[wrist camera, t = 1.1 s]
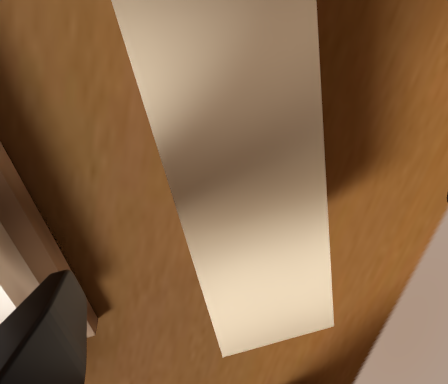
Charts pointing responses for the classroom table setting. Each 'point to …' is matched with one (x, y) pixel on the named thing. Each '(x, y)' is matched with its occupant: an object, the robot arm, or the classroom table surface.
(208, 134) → the white block
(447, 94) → the classroom table surface
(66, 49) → the classroom table surface
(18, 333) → the robot arm
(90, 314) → the airplane cradle
